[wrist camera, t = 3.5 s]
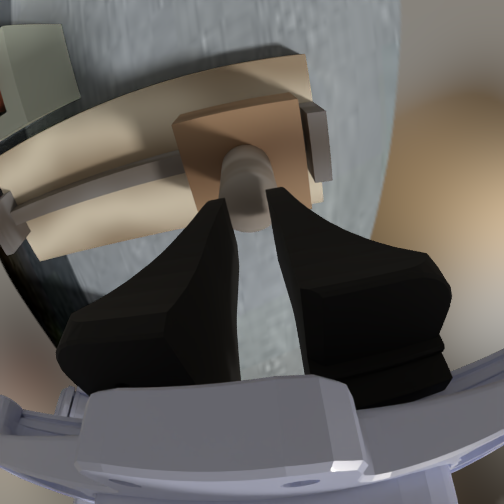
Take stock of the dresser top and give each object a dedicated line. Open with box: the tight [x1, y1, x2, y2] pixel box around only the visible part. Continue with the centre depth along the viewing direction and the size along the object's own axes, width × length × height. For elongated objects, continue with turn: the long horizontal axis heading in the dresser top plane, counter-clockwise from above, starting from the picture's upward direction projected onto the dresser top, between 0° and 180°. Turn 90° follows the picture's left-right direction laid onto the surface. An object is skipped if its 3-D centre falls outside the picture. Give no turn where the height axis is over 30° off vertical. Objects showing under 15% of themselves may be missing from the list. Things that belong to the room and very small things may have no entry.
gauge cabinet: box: [0, 24, 81, 141], centre depth 12 cm, size 6×6×6 cm
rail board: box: [0, 54, 332, 261], centre depth 18 cm, size 10×24×4 cm, turn 101°
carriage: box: [171, 92, 312, 232], centre depth 14 cm, size 6×6×6 cm
